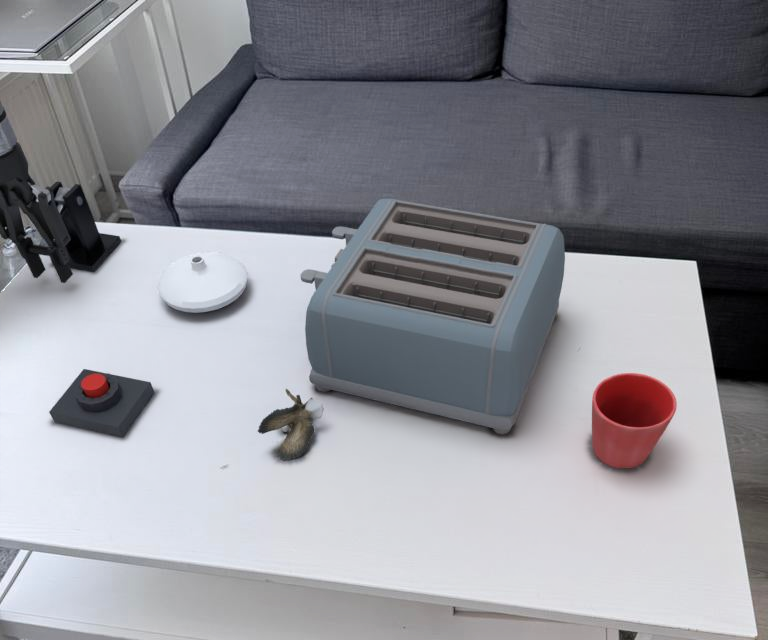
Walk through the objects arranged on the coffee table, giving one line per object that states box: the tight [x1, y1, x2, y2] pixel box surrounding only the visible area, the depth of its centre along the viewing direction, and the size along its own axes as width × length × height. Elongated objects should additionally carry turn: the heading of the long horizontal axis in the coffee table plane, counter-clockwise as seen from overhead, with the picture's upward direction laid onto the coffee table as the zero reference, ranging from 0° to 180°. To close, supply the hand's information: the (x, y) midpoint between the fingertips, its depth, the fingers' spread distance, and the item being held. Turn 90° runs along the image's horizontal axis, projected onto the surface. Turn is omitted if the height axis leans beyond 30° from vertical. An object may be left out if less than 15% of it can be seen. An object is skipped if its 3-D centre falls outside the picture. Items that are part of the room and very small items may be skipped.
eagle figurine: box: [257, 388, 324, 461], centre depth 108 cm, size 8×7×9 cm
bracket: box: [50, 181, 122, 273], centre depth 137 cm, size 10×9×13 cm
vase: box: [156, 251, 248, 314], centre depth 130 cm, size 16×16×7 cm
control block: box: [48, 368, 155, 438], centre depth 114 cm, size 12×10×4 cm
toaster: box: [299, 197, 566, 435], centre depth 114 cm, size 31×36×17 cm
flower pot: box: [591, 372, 677, 469], centre depth 102 cm, size 11×11×10 cm
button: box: [81, 374, 109, 398], centre depth 112 cm, size 4×4×2 cm
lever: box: [27, 186, 71, 257], centre depth 132 cm, size 13×5×2 cm, turn 162°
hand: (53, 275), depth 134 cm, fingers closed on lever, 5 cm apart
